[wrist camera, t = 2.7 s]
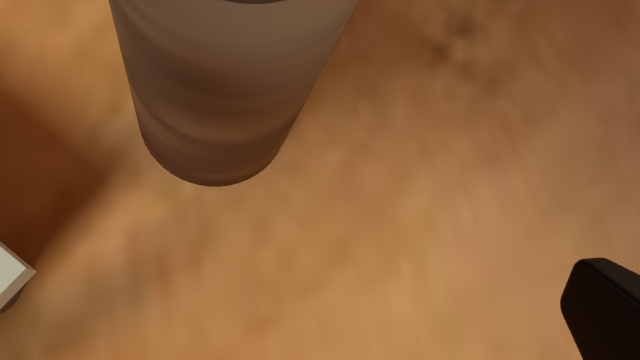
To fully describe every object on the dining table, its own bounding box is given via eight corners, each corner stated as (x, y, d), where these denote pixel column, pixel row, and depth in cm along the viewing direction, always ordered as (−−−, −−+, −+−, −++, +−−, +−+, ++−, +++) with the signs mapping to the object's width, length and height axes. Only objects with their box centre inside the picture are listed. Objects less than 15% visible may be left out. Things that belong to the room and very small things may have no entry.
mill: (315, 111, 23) (505, -201, 9) (222, 216, 22) (287, 24, 8) (207, 20, 23) (237, -432, 9) (105, 119, 22) (-45, -257, 8)
